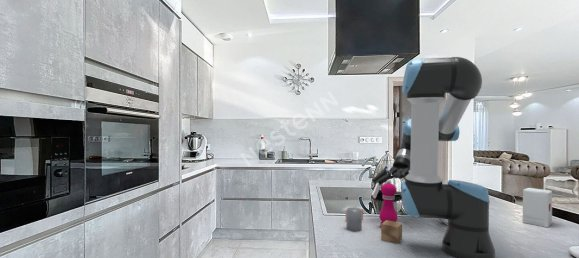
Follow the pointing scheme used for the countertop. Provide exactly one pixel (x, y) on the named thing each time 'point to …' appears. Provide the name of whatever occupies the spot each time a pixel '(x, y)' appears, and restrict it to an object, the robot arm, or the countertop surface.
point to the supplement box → (537, 207)
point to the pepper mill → (388, 203)
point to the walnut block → (391, 231)
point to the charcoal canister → (354, 219)
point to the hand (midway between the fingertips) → (388, 199)
